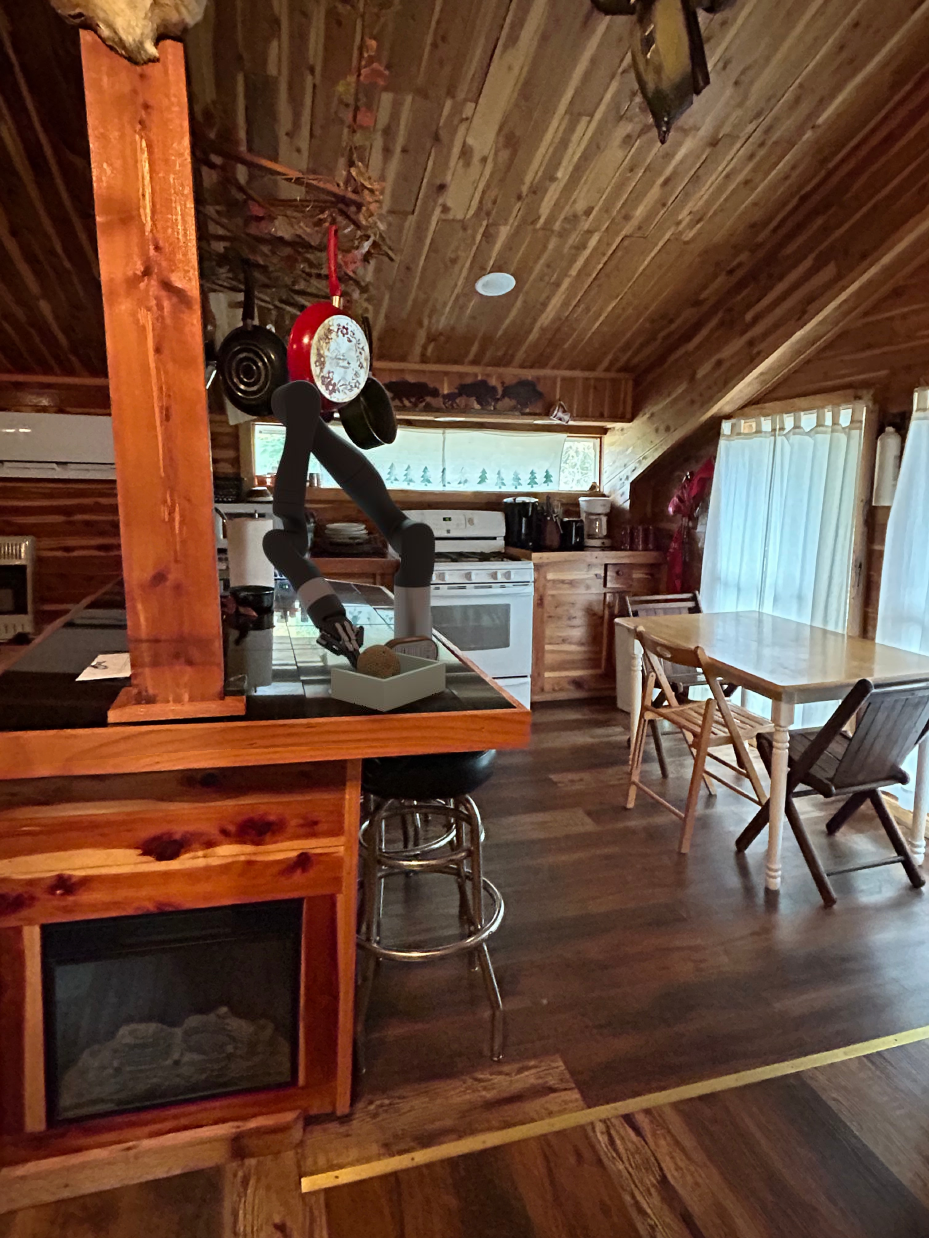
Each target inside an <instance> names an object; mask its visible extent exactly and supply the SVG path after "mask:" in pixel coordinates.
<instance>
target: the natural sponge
mask: <svg viewBox="0 0 929 1238" xmlns="http://www.w3.org/2000/svg"><path fill="white" fill-rule="evenodd" d="M360 653H361V654H360V656H359V658H358V661H357V668H358V670H357V671H358V672H357V673H359V674H363V675H368V676H372V677H376V678H380V679H387V678H390V677H393V676H397V675H400V671H401V664H400V661H399V658H398V656H397V655H396V653H395V652H394V651H393V650H391V649H390V648H388V647H387V646H384V644H379V643H378V644H373V645H371V646H368V647H366V648H365V649H364V650H362V652H360Z"/></svg>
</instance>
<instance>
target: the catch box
mask: <svg viewBox="0 0 929 1238" xmlns="http://www.w3.org/2000/svg"><path fill="white" fill-rule="evenodd" d="M395 653H396V655H397V656H398V658H399V661H400V664H401V671H400V675H397V676H393V677H390V678H387V679H380V678H376V677H372V676H368V675H363V674H359V672H353V671H351V670H346V669H342V668H338V667H337V668H336V667H331V668H330V697H331V699H332V698H333V699H336V700H340V701H344V702H348V703H350V704H354V703H355V705H358V706H362V705H363V706H362V707H365V706H366V708H370V709H372V710H373V709H374V710H376V709H377V711H380V712H387V711H390V710H392V709H395V708H399V707H402V706H404V705H406V704H410V703H412V702H415V701H418V700H421V699H423V698H427V697H429V696H432V694H433V695H435V693H436V694H438V693H441V692H444V691H446V670H447V669H446V662H445V661H440V660H437V661H436V660H431V659H426V658H421V657H416V656H411V655H407V654H402V653H397V652H395Z"/></svg>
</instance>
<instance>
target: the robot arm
mask: <svg viewBox="0 0 929 1238" xmlns="http://www.w3.org/2000/svg"><path fill="white" fill-rule="evenodd" d="M270 405H271V411H272V412H273V414H274V417H275V418H276V419H277V420H278V421H279V422H280V424H282V426H284V427H285V437H284V443H283V449H282V452H281V456H280V460H279V464H278V467H277V469H276V474H275V477H274V485H273V497H272V506H271V507H272V510H271V511H272V514H273V515H274V517H276V518H278V519H280V520H281V523H282V527H283V529H282V528H272V529H270V530H267V532H265V533H264V535H263V537H262V543H261V545H262V551H263V553H264V556H265V558H267V560H268V562H269V563H270V564H271V565H272V566H273V567H274V568H275V569H276V570H277V571H278V572H279V573H280V574H281V575H282V576H283V577H284V578H285V579H286V580H287V581H288V583H289V584H290V586H291V587H292V590H294V592H295V594H296V596H297V597H298V600H299V602H300V604H301V606H302V608H303V610H304V611H305V612H306V614H307V616H308V618H309V619H310V621H311V622H312V624H313V625H314V627H315V628H316V630H319V633H320V635H319V636H318V637H317V638H316V640H315V643H316V644H317V645H319V646H321V647H322V648H324V649H325V650H327V651H328V652H330V653H331V654H333V655H335V656H337V657H340V656H343V657H345V658H346V659H347V661H348V663H349V664H350V666H351V667H352V668H353V669H354V670H355V671H358V668H357V661H358V658H359V656H360V654H361V653H362V652H360V649H361V648H362V647H363V646H364V639H365V627H364V626H363V625H359V626H357V625H354V624H353V622H352V620H350V619H349V618H348V617H347V609H346V607H345V606H344V605H343V603H342V602H341V600H340V598H339V596H338V595H337V594H336V592H335V590H334V588H333V587H332V586H331V584H330V583H329V582H328V581H327V580H326V578H325V577H324V575H323V574H322V572H321V570H320V569H319V567H318V566H317V565H316V563H315V562H314V561H313V560H312V559H311V560H310V559H308V558H306V555H307V553H308V548H309V542H310V541H309V540H310V539H309V532H308V526H307V520H306V519H307V518H306V516H305V507H306V506H305V505H306V496H307V485H308V474H309V467H310V459H311V454H312V455H313V457H315V460H317V462H319V464H320V465H321V466H322V467H323V468H324V470H326V472H327V473H328V474H329V475H330V477H331V478H332V479H333V480H334V481H335V483H336V484H337V485H338V486H339V487H340V488H341V489H342V491H343V492H344V493H345V494H346V495H347V497H349V498H350V499H351V500H352V501H353V502H354V504H355V505H357V507H358V508H359V509H360V510H361V511H362V512H363V514H365V515H366V516H367V517H368V518H369V519H370V520H371V521H372V522H373V523H374V525H375V526H376V528H377V529H378V531H379V532H380V533H381V535H382V537H383V538H384V540H385V541H386V542H387V544H388V545H389V546H390V548H391V549H392V550H393V551H394V552H395V553H397V555H399V556H400V563H399V564H400V565H399V569H398V571H396V572H395V573H394V575H393V639H394V638H403V637H411V636H419V635H424V636H427V637H429V638H430V639H432V640H433V613H431V604H432V603H431V599H432V598H431V593H432V592H431V591H432V587H431V586H432V585H431V581H432V577H433V575H434V571H435V562H436V561H435V559H436V537H435V533H434V530H433V529H432V527H431V526H430V525H429V524H427V523H425V522H423V521H418V520H413V519H411V518H410V517H408V516H407V514H405V513H404V512H403V511H402V510H401V508H400V507H399V506H398V505H397V504H396V503H395V502H394V500H393V499H392V497H391V496H390V493H389V490H388V487H387V486H386V483H385V481H384V479H383V477H382V475H381V474H380V472H379V470H378V469H377V468H376V467H375V466H374V465H373V464H372V462H371V461H370V460H369V459H368V458H367V456H366V455H365V454H364V453H363V452H362V451H361V450H360V449H358V448H357V447H356V446H355V445H354V444H352V443H351V442H349V441H348V440H346V439H345V438H344V437H343V436H341V435H339V434H338V433H337V432H335V431H334V430H333V429H331V427H329V425H328V424H327V423H326V422H325V421H324V419H323V418H322V417H321V416H320V415H321V410H322V398H321V394H320V392H319V390H318V389H317V387H316V385H314V384H313V383H312V382H309V381H308V380H302V379H299V380H294V381H290V382H288V383H285V384H284V385H281V386H279V387H277V388H276V389H275V390H274V391H273V393H272V394H271V399H270Z"/></svg>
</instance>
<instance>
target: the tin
mask: <svg viewBox="0 0 929 1238" xmlns="http://www.w3.org/2000/svg"><path fill="white" fill-rule="evenodd" d="M383 645H384V646H387V647H388V648H390V649H391V650H393V651H394V652H397V653H402V654H407V655H411V656H416V657H421V658H426V659H431V660H436V661H438V657H439V646H438V644H437V642H436V641H435V640H434V639H433V638H432V639H430V638H429V637H427V636H424V635H419V636H411V637H403V638H394V637H393V638H391V639H389V640H388V641H386V643H384V644H383Z"/></svg>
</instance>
